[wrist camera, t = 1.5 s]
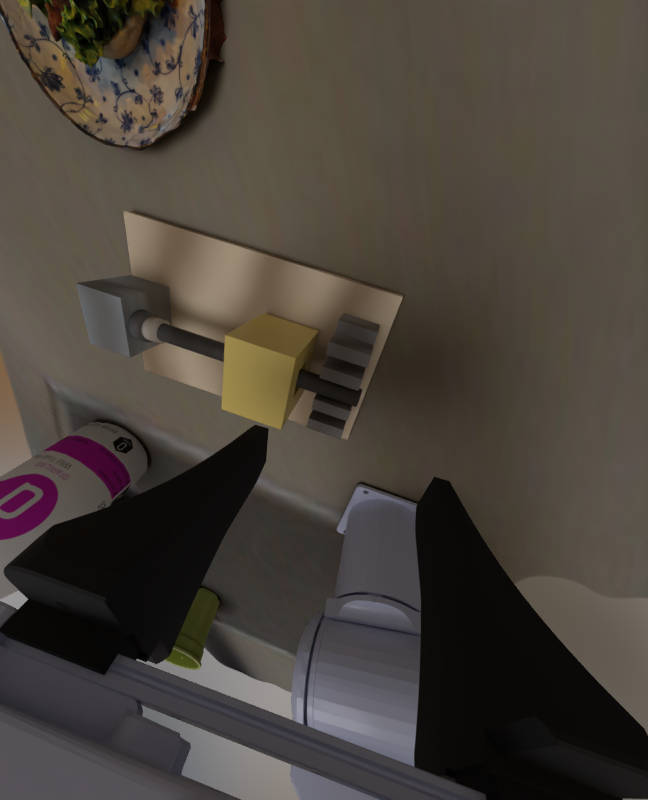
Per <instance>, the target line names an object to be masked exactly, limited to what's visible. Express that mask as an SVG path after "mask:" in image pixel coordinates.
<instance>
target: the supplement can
mask: <svg viewBox="0 0 648 800" xmlns="http://www.w3.org/2000/svg"><path fill="white" fill-rule="evenodd" d="M147 462H148V461H147V454H146V452H145V450H144V448H143V446H142V445H141V444H140V442H139V441H138V440H137V439H136V438H135V437H134V436H133V435H131V434H130V433H129V432H128V431H126V430H124V429H122V428H121V427H119V426H117V425H113V424H109V423H100V422H94V423H89V424H87V425H85V426H84V427H82V428H80V429H79V430H77V431H76V432H74V433H72V434H71V435H69V436H67V437H66V438H64V439H62V440H61V441H59V442H57V443H56V444H54V445H52V446H51V447H49V448H47V449H46V450H44V451H42V452H41V453H39V454H37V455H36V456H34V457H33V458H31V459H29V460H28V461H26V462H24V463H23V464H21V465H19V466H18V467H16V468H14V469H13V470H11V471H9V472H8V473H6V474H5V475H3V476H1V477H0V599H2V598H4V597H6V596H8V595H10V594H12V593H14V592H16V591H18V589H17V588H16V587H15V586H14V585H13V584H12V583H11V582H10V581H9V580H8V579H7V578H6V577H5V575H4V573H3V572H4V568H5V567H6V566H7V565H8V564H9V563H10V562H11V561H12V560H13V559H14V558H16V557H17V556H18V555H19V554H20V553H21V552H22V551H24V550H25V549H26V548H27V547H28V546H29V545H30V544H32V543H33V542H34V541H35V540H36V539H37V538H38V537H39V536H41V535H42V534H43V533H44V532H45V531H47V530H48V529H49V528H50V527H52V526H53V525H55V524H58V523H61V522H65V521H68V520H71V519H74V518H77V517H80V516H83V515H86V514H89V513H92V512H95V511H98V510H101V509H103V508H106V507H109V506H111V505H112V504H113V503H114V502H115V501H116V500H118V499H119V498H120V497H121V496H122V495H123V494H124V493H125V492H126V491H127V490H128V489H129V488H130V487H131V486H132V485H133V484H135V483H136V482H137V481H138V480H139V479H140V478H141V477H142V476H143V475H144V474H145V472H146V470H147V468H148V467H147Z"/></svg>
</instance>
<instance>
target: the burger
mask: <svg viewBox="0 0 648 800" xmlns="http://www.w3.org/2000/svg"><path fill="white" fill-rule="evenodd" d="M220 2H222V0H0V16H1V18H2V20H3V22H4V23H5V25H6V27H7V29H8V31H9V33H10V35H11V39H12V41H13V43H14V44H15V46H16V49H17V51H18V54H19V55H20V56H21V59H22V60H23V61H24V62H25V63H26V65H27V67H28V68H29V70H30V71H31V75H32V77H33V78H34V79H35V81H36V82H37V83H38V85H39V86H40V88H41V89H42V91H43V92H44V93H45V94H46V96H47V97H48V98H49V99H50V100H51V101H52V103H53V105H54V106H55V107H56V108H57V109H58V110H59V111H60V112H61V113H62V114H63V115H64V116H66V117H67V118H68V119H69V120H70V121H71V122H72V123H73V124H74V125H75V126H76V127H77V128H78V129H79V130H81V131H82V132H83V133H85V134H86V135H88V136H90V137H91V138H93V139H95V140H97V141H99V142H101V143H103V144H105V145H110V146H114V147H120V148H126V149H131V150H143V149H145V148H147V147H149V146H150V145H151V144H153V143H154V142H156V141H157V140H158V139H160V138H161V137H163V136H164V135H166V134H167V133H169V132H171V131H173V130H175V129H176V128H177V127H179V126H180V125H181V122H182V120H183V119H184V118H185V117H186V115H187V114H188V113H189V112H190V111H191V110H196V107H197V104H198V102H199V99H200V97H201V95H202V91H203V86H204V80H205V76H206V72H207V68H208V65H209V60H211V59H216V60H218V61H220V62H224V61H223V60H221V59H220V58H219V57H218V52H219V51H220V48H221V46H222V44H223V42H224V41H225V40H226V38H227V36H226V35H225V33H224V24H223V17H222V12H221V8H220V6H219V3H220Z"/></svg>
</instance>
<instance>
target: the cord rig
mask: <svg viewBox="0 0 648 800" xmlns="http://www.w3.org/2000/svg"><path fill="white" fill-rule="evenodd" d="M123 212H124V219H125V227H126V234H127V242H128V249H129V257H130V264H131V272H132V275H129V276H122V277H115V278H108V279H101V280H94V281H87V282H80V283H76V286H77V290H78V295H79V299H80V303H81V307H82V311H83V315H84V319H85V323H86V327H87V332H88V336H89V340H90V344H92V345H95V346H98V347H101V348H104V349H107V350H110V351H113V352H116V353H119V354H121V355H124V356H127V357H132V356H134V355H137V354H139V353H141V352H142V353H143V361H144V368H145V370H147V371H150V372H153V373H156V374H159V375H162V376H165V377H167V378H170V379H173V380H176V381H179V382H182V383H185V384H188V385H190V386H193V387H196V388H199V389H202V390H205V391H208V392H211V393H214V394H216V395H219V396H222V391H223V369H224V347H225V335H226V334H228V333H229V332H231V331H233V330H235V329H236V328H238V327H240V326H242V325H243V324H245V323H247V322H249V321H251V320H252V319H254V318H256V317H258V316H259V315H261V314H263V313H264V314H268V315H271V316H274V317H277V318H280V319H283V320H286V321H289V322H292V323H295V324H298V325H302V326H305V327H308V328H311V329H314V330H317V331H318V335H317V340H316V344H315V348H314V352H313V356H312V360H311V364H310V369H309V371H306V370H303V369H300V370H299V373H298V378H297V382H296V387H299V388H302V389H304V392H303V394H302V396H301V397H300V399H299V401H298V402H297V404H296V406H295V407H294V409H293V411H292V412H291V414H290V416H289V417H288V419H289V420H291V421H294V422H297V423H300V424H303V425H306V427H307V428H310V429H313V430H316V431H319V432H322V433H325V434H327V435H330V436H333V437H336V438H339V439H341V438H343V439H346V440H347V439H348V437H349V434H350V431H351V429H352V426H353V424H354V421H355V419H356V416H357V414H358V411H359V408H360V406H361V403H362V401H363V398H364V396H365V393H366V390H367V388H368V385H369V383H370V380H371V378H372V375H373V373H374V370H375V367H376V365H377V362H378V360H379V357H380V355H381V352H382V350H383V347H384V344H385V342H386V339H387V337H388V334H389V332H390V329H391V327H392V324H393V321H394V319H395V316H396V314H397V311H398V309H399V306H400V303H401V301H402V298H403V295H402V294H398V293H395V292H392V291H389V290H385V289H382V288H379V287H376V286H372V285H369V284H366V283H363V282H359V281H356V280H353V279H350V278H346V277H343V276H340V275H337V274H333V273H330V272H327V271H324V270H320V269H317V268H314V267H311V266H308V265H304V264H301V263H298V262H295V261H291V260H288V259H285V258H282V257H278V256H275V255H272V254H269V253H265V252H262V251H259V250H256V249H252V248H249V247H246V246H243V245H239V244H236V243H233V242H230V241H226V240H223V239H220V238H217V237H214V236H210V235H207V234H204V233H201V232H197V231H194V230H191V229H188V228H184V227H181V226H178V225H175V224H171V223H168V222H165V221H162V220H158V219H155V218H152V217H149V216H145V215H142V214H139V213H136V212H131V211H123Z"/></svg>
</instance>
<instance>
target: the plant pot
mask: <svg viewBox="0 0 648 800" xmlns="http://www.w3.org/2000/svg"><path fill="white" fill-rule="evenodd" d="M219 603H220V601H219V600H218V598H217V596H216V594H214V593H213V592H211V591H209V590H208V589H206V588H199V590H198V592H197V594H196V597H195V599H194V601H193V603H192V605H191V608H190V610H189V612H188V614H187V617H186V619H185V621H184V624H183V626H182V628H181V631H180V633H179V635H178V638H177V640H176V642H175V645H174V647H173V649H172V652H171V654H170V656H169V657H168V658H166V659H165V661H167V662H170V663H172V664H174V665H177V666H180V667H183V668H186V669H192V670H198V669H200V667H201V662H200V661H201V658H202V655H203V649H204V646H205V643H206V640H207V637H208V634H209V631H210V628H211V625H212V622H213V620H214V617H215V614H216V611H217V609H218V606H219Z"/></svg>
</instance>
